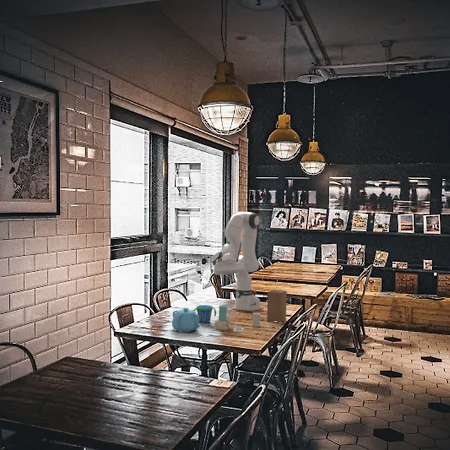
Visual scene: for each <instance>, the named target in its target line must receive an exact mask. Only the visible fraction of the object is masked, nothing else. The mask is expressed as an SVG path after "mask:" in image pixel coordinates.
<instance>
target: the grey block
mask: <svg viewBox="0 0 450 450" xmlns="http://www.w3.org/2000/svg"><path fill="white" fill-rule="evenodd" d="M260 325H261V313H260V312H252V326H260Z"/></svg>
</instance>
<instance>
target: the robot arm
mask: <svg viewBox="0 0 450 450" xmlns="http://www.w3.org/2000/svg"><path fill="white" fill-rule="evenodd" d="M260 222H261V218H260V216H259V214H258V213H255V212H250V211H235V212H234V211H233V213H232V215H231V217H230V219H229V220H228V223H227V225H226V227H225V229H224V236H225V238H226V240H227V241H228V242H229V243H225V244H224V245H223V246H222V248H221V250H220V251H218V252H217V253H215V254H214V255H213V257H212V265H213V272H214V275H215V276H220V277H221V279H224V277H225V276H224V275H227V276H230V275H231V276H232V275H233V274H234V275H235V278H236V289H235V302H234V307H233V309H235V310H238V311H239V310H240V311H249V312H251V311H256V310H257V311H258V310H260V309H264V306H263V305H261V300H260V298H259V297H257V296H256V295H254V294H255V293H256V292H257V290H255V289H253V287H252V283H253V282H252V281H253V280H252V277H251V276H250V273H253V272H256V271H257V270H258V269H259V268H260V262H259V260H258V259H257V256H256V244H257V243H256V241H257V234H258V229H257V228H258V226H259V225H260ZM241 251H242V254H241V253H240V252H241Z"/></svg>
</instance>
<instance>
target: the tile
mask: <svg viewBox="0 0 450 450" xmlns="http://www.w3.org/2000/svg"><path fill="white" fill-rule="evenodd" d="M244 330H245V327H233V330H232V332H234V333H235V332H236V333H237V332H240V333H244Z"/></svg>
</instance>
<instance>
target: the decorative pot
mask: <svg viewBox="0 0 450 450" xmlns="http://www.w3.org/2000/svg"><path fill="white" fill-rule="evenodd" d="M171 326H172V328H173V329H174V330H175V331H176V332H184V333H187V334H188V333H190V332H193V331H196V330H197V329H199V328H200V327H201V326H200V322H199V315H198V313H197V311H196V310H195V311H194V309H189V307H184V308H182V309H180V310H177V309H176V310H173V312H172V320H171Z"/></svg>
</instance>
